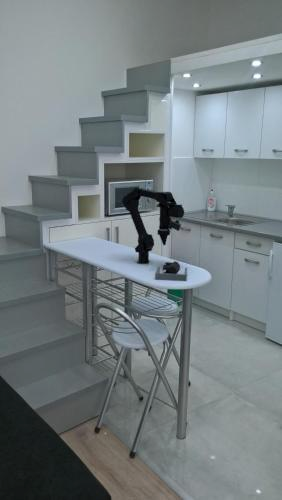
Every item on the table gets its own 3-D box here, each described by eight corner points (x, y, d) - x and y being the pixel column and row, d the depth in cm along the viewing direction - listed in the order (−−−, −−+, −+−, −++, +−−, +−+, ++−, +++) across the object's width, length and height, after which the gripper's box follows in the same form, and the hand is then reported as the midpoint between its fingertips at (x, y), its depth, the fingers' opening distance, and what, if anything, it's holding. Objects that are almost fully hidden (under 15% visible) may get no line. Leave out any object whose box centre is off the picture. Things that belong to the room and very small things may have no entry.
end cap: (176, 279, 208) (177, 266, 206) (162, 278, 209) (162, 265, 208) (179, 274, 217) (180, 261, 215) (166, 273, 219) (166, 260, 217)
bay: (157, 271, 220) (157, 266, 220) (186, 273, 219) (186, 267, 218) (155, 279, 207) (155, 273, 207) (186, 280, 206) (186, 274, 205)
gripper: (179, 219, 214) (178, 249, 218) (181, 214, 232) (180, 242, 236) (157, 218, 215) (157, 248, 219) (160, 213, 234) (160, 241, 237)
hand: (164, 245), depth 228 cm, fingers closed
